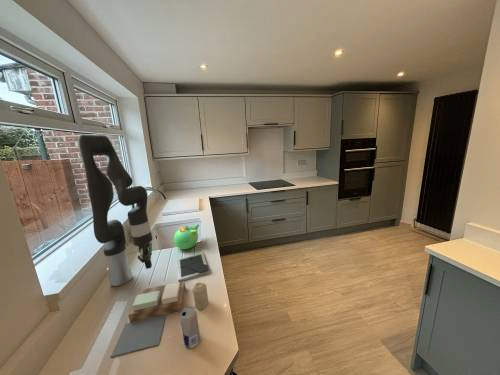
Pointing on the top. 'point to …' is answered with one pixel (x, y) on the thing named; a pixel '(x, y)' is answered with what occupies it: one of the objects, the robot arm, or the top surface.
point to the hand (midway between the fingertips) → (149, 267)
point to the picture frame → (191, 267)
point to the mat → (140, 335)
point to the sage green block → (146, 300)
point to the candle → (200, 296)
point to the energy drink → (190, 327)
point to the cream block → (171, 293)
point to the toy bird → (186, 237)
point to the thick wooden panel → (160, 308)
